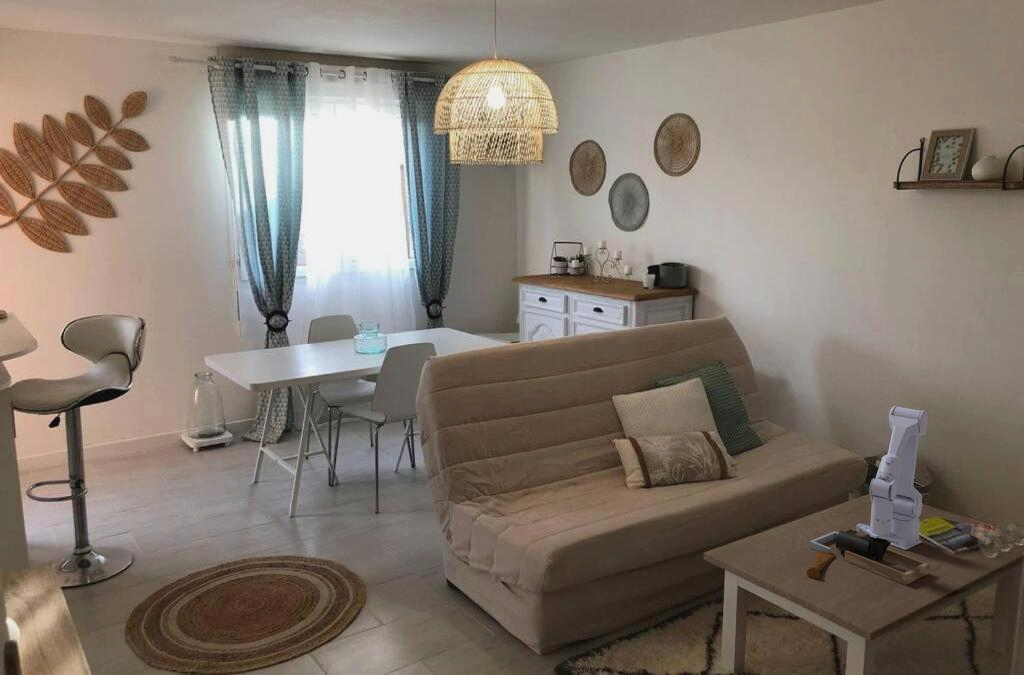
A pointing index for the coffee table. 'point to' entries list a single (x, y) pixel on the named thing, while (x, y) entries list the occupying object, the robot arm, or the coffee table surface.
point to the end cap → (854, 543)
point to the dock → (821, 540)
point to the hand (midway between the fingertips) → (878, 560)
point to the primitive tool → (819, 564)
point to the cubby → (905, 578)
